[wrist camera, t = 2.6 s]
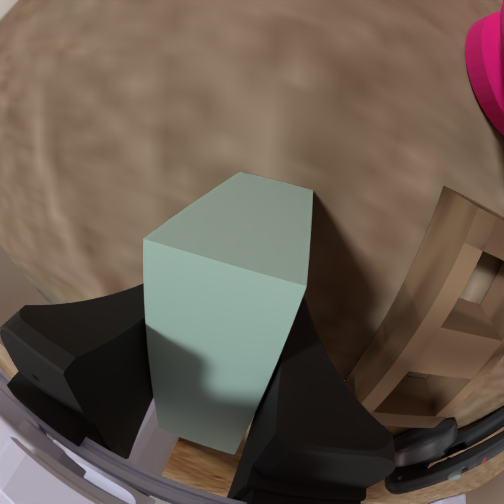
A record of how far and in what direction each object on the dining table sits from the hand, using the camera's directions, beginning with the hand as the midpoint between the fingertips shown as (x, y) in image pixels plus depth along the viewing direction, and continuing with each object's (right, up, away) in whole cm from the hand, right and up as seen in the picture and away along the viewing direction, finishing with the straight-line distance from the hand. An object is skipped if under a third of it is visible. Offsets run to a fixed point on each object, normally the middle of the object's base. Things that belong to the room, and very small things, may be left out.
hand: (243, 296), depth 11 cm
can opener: (+20, -13, +5) cm, 25 cm away
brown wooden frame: (+10, -2, +1) cm, 10 cm away
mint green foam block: (+1, +1, +2) cm, 2 cm away
